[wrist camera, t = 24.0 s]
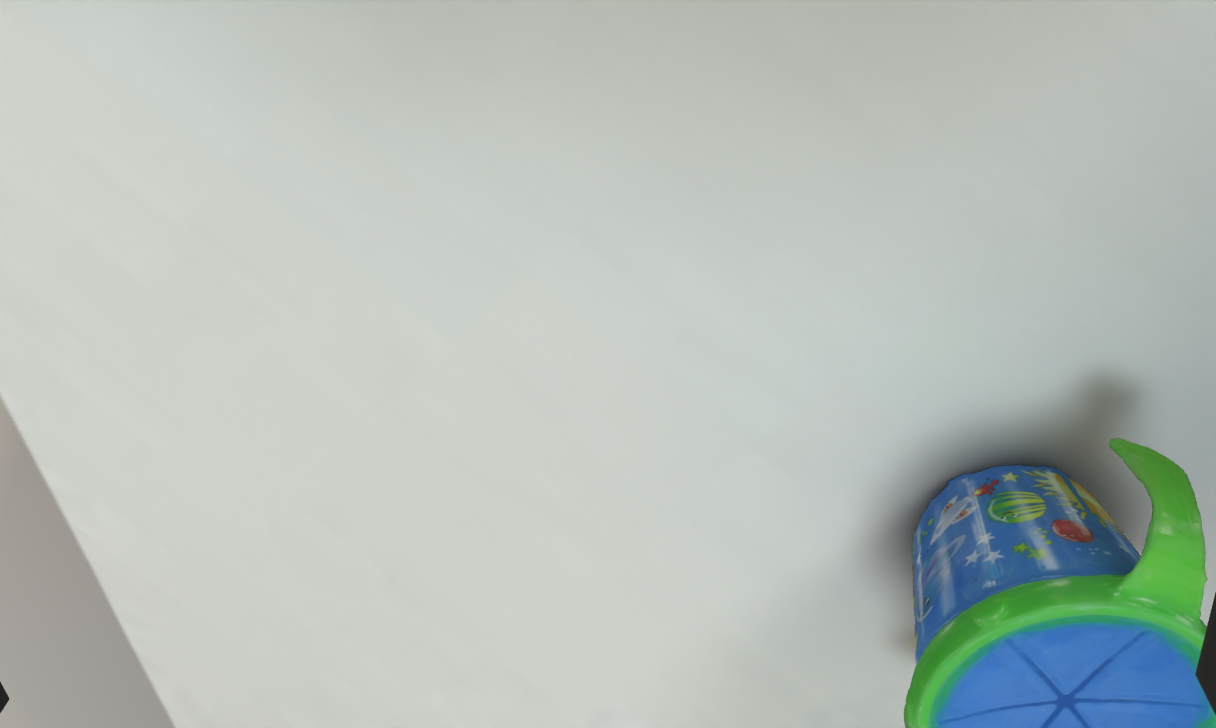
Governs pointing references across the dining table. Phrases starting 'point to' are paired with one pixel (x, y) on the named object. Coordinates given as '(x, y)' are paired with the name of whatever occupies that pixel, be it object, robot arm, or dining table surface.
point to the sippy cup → (1058, 604)
